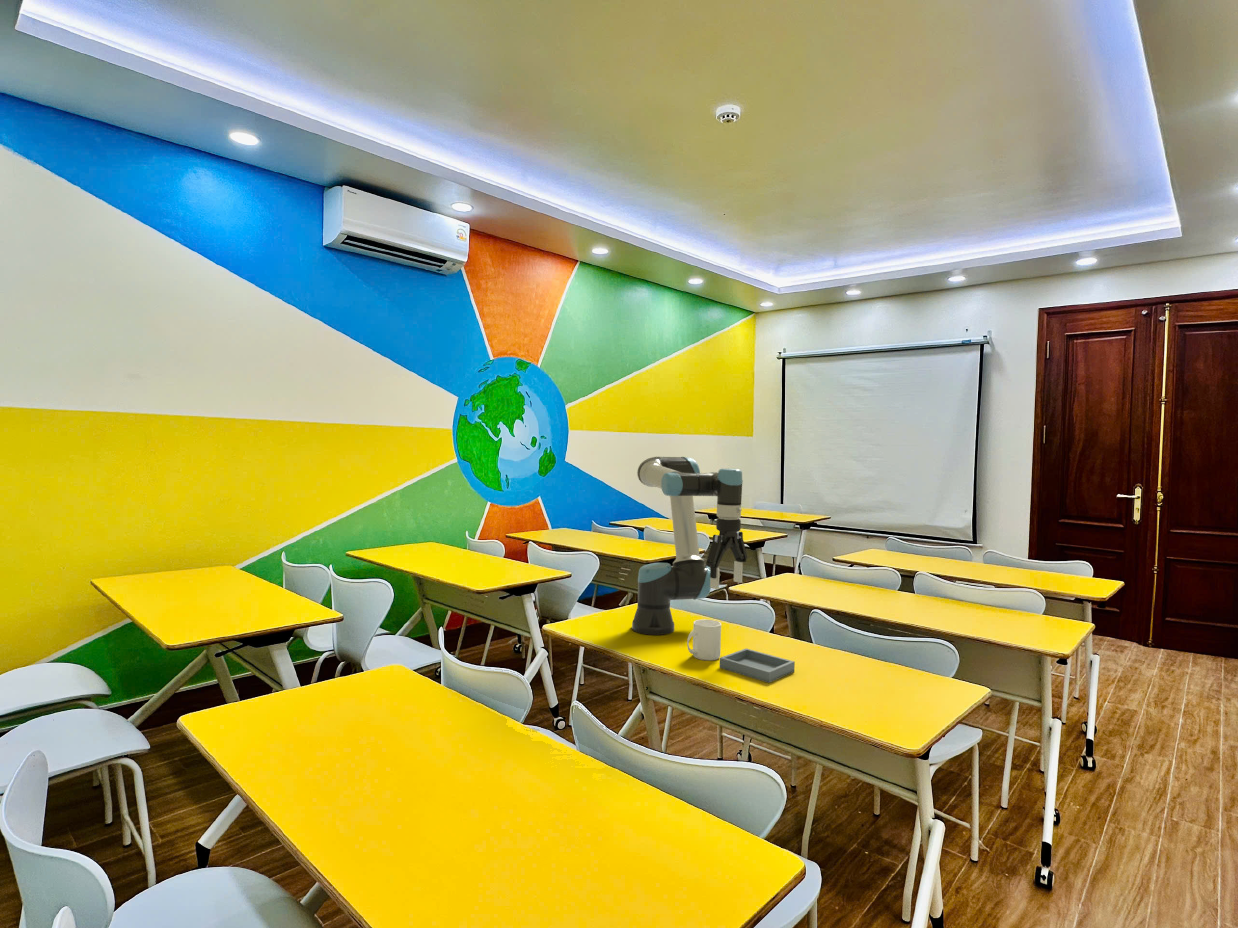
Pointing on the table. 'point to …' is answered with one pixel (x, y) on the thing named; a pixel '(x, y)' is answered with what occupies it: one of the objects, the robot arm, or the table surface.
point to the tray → (757, 665)
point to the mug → (706, 639)
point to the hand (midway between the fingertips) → (726, 585)
